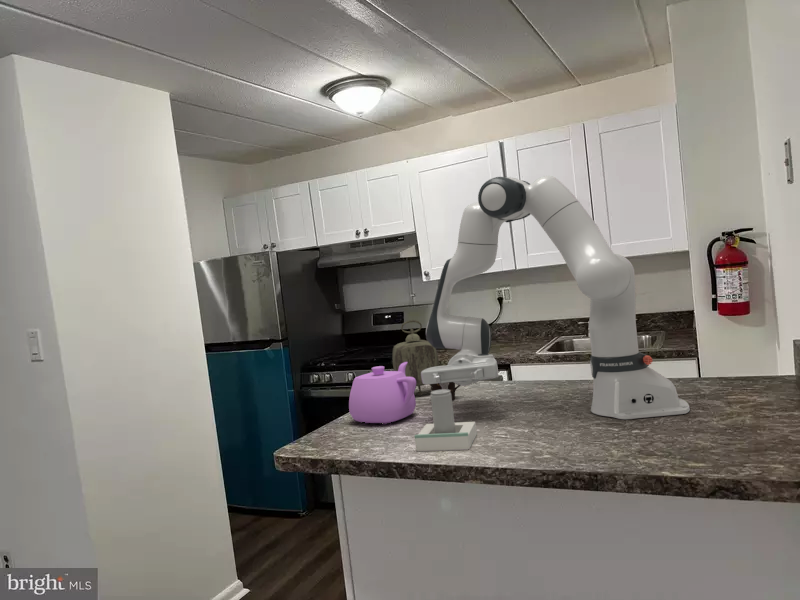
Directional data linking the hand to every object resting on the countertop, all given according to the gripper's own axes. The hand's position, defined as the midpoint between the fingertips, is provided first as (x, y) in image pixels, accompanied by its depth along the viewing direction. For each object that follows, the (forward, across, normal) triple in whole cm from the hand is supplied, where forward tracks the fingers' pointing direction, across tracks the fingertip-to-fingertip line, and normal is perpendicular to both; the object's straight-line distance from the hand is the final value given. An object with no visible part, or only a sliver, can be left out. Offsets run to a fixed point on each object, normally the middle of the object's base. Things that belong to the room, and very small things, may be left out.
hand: (455, 378), depth 146 cm
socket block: (+12, -2, +13) cm, 18 cm away
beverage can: (+13, -2, +13) cm, 18 cm away
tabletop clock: (-44, -21, +12) cm, 50 cm away
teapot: (-14, -24, +12) cm, 30 cm away
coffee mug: (-34, -9, +12) cm, 37 cm away
